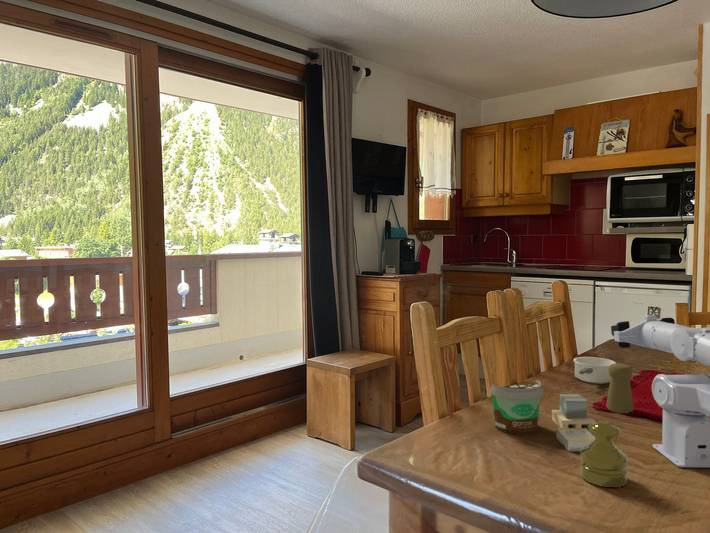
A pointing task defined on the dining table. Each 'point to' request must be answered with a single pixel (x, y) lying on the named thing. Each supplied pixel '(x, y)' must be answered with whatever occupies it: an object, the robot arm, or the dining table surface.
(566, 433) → the dock
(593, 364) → the saucepan
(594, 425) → the olive shiny rounded piece
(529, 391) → the food container
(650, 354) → the dining table surface
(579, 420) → the stacked blocks
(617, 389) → the cork
